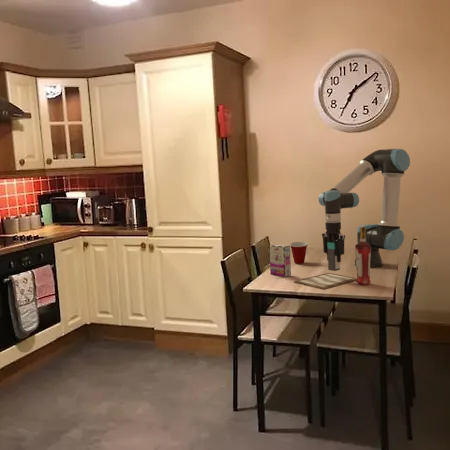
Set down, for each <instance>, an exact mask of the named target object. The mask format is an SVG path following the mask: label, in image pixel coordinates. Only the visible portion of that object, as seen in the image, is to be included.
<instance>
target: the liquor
mask: <svg viewBox="0 0 450 450" xmlns="http://www.w3.org/2000/svg"><path fill="white" fill-rule="evenodd" d="M365 231H366V227H360V243H358V242H357V243H356V244H355V245H354V246H355V249H354V250H355V251H354V252H355V259H356V265H355V266H356V278H357V280H356V281H355V282H356V283H357V284H358V285H360V286H368V285H369V284H370V283H371V282H372V281H371V267H370V258H371V245H369V244H368V243H366V237H365Z"/></svg>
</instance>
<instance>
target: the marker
mask: <svg viewBox="0 0 450 450" xmlns="http://www.w3.org/2000/svg"><path fill="white" fill-rule="evenodd" d="M327 245H328V260H327V267H328V271H332V272H336V271H340V270H341V267H340V268H338V269H335V255H336V250H335V243H334V242H328V243H327Z"/></svg>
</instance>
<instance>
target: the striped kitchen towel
mask: <svg viewBox="0 0 450 450" xmlns="http://www.w3.org/2000/svg"><path fill="white" fill-rule="evenodd" d="M356 281H357V277H352V276H347V275H343V274H338V273H337V274H336V273H333V272H324V273H322V274H318V275H314V276H310V277H305V278H302V279H298V280H295V281H294V280H293V283H294V284H299V285H302V286H306V287H311V288H315V289H320V290H326V289H330V288H334V287H337V286H341V285H344V284H348V283H351V282H356Z"/></svg>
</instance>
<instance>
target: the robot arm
mask: <svg viewBox="0 0 450 450" xmlns="http://www.w3.org/2000/svg"><path fill="white" fill-rule="evenodd" d="M410 158H411V157H410V155H409V154H408V152H407V151H406V150H404V149H403V148H386V149H377V150H375V151H373V152H371V153H369V154H368V155H366V156H365V157H364V158H362V159H361V160H360V161H359V163H358V165H357V166H356V167H355V168H354V169H352V170H351V172H349V173H348V174H347V175H345V176H344V177H343V178H342V179H341V180H339V182H337V183H336V184H335V185H334V186H333V187H331V188H330V189H329V190H326V191H324V192H321V193H320V194H318V203H319V205H321V206H322V207H324V211H325V212H324V213H325V214H324V215H325V221H326V222H325V230H326V231H325V232H324V233H321V237H322V247H323V254H326V260H327V261H328V245H327V243H328V242H334V243H335V250H336V255H335V269H338V268H340V269H341V262H342V257H341V256H342V255H344V254H345V239H346V235H345V234H342V233H341V229H342V222H341V220H342V216H341V215H342V213H341V210H342V209H352V208H356V207H357V206H358V205H359V203H360V197H359V195H358V194H357V193H356V192H351V191H352V190H353V189H354V188H356V186H357V185H359V184H360V183H361V182H362V181H363V180H365V179H366V178H367V177H368V176H371V175H373V174H375V173H376V172H381V175H382V176H383V188H382V201H381V215H380V221H379V222H378V223H371V224H362V225H359V226H357V230H356V231H357V233H356V234H357V244H358V243H360V227H366V231H365V237H366V243H368V244H369V245H371V258H370V268H379V267H382V266H383V259H382V256H381V253H380V249H381V250H386V251H396V250H399V249H400V247H402V245H403V242H404V240H405V234H404V232H403V230H402V229H401V225H400V224H399V223H398V218H399V205H400V194H401V193H400V192H401V182H402V181H401V179H402V177H403V176H405V171H407V170H408V169H409V167H410V166H411V161H410V160H411V159H410ZM354 266H356V258H355V260H354Z"/></svg>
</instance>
